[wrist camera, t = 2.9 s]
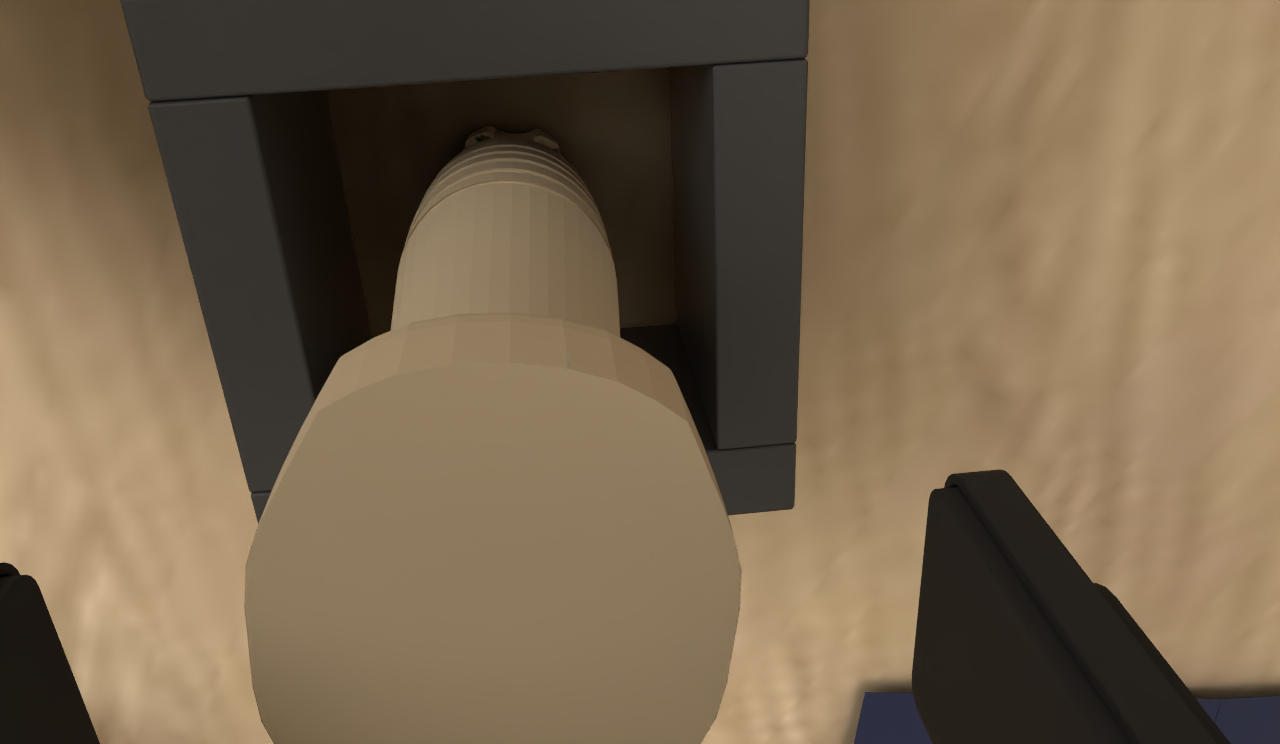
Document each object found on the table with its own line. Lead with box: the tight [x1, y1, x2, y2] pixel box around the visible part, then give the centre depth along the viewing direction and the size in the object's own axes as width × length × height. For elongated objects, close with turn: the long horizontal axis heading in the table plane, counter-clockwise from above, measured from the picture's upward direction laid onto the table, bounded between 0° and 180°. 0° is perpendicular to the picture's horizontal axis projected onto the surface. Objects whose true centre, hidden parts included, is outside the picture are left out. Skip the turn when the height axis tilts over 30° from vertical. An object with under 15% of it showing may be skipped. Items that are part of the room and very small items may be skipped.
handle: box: [244, 126, 741, 744], centre depth 17 cm, size 5×6×15 cm
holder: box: [120, 0, 810, 524], centre depth 19 cm, size 20×11×6 cm, turn 3°
